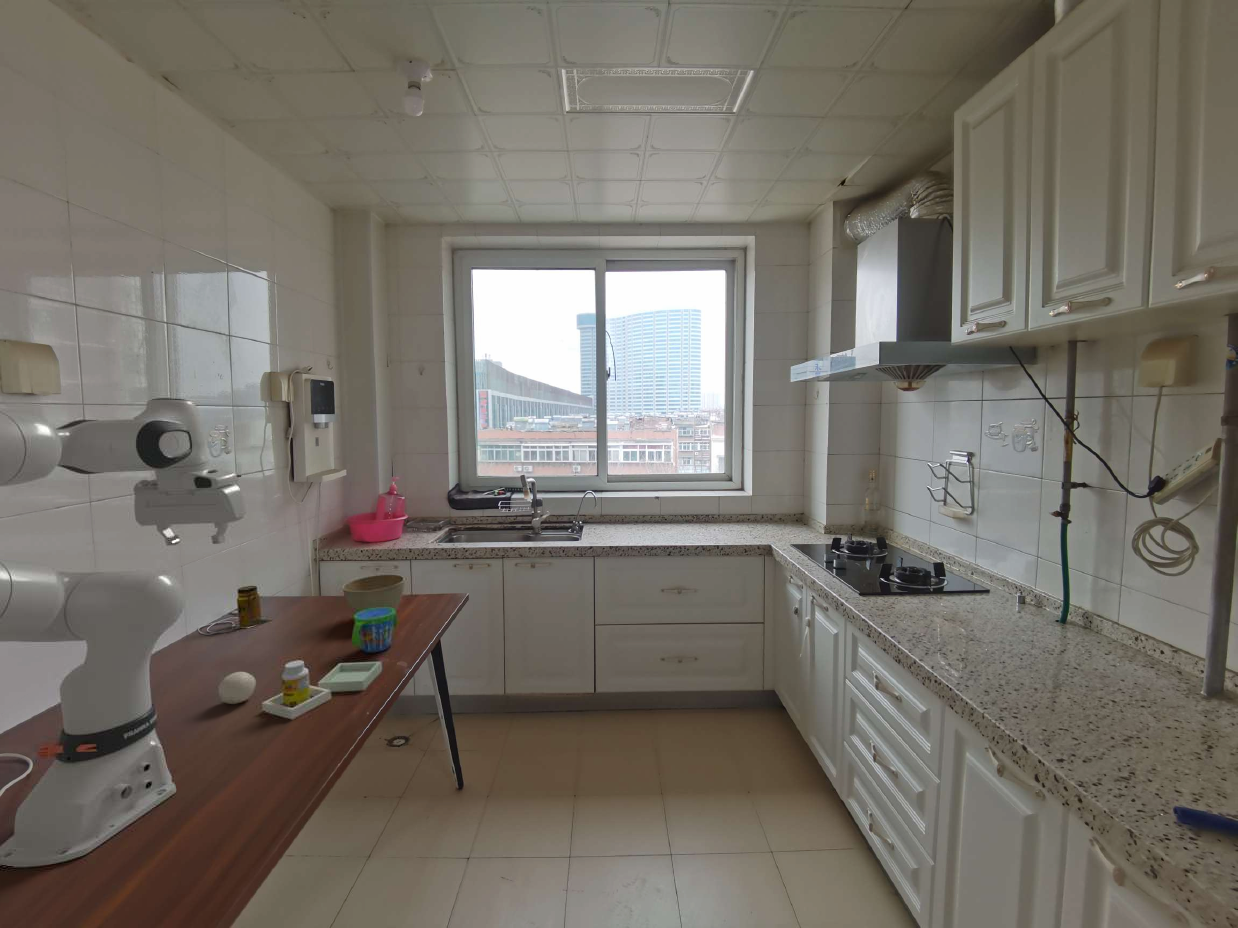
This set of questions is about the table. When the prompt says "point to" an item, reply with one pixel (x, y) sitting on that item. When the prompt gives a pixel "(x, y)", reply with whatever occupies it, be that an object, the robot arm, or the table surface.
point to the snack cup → (374, 628)
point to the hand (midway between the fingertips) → (196, 543)
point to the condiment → (249, 607)
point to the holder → (318, 698)
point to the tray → (351, 676)
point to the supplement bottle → (295, 684)
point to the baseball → (236, 687)
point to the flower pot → (374, 592)
